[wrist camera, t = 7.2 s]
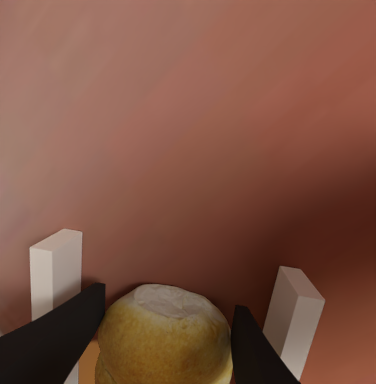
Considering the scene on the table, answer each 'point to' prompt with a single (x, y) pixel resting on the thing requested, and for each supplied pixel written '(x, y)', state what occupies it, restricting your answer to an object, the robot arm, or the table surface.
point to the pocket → (274, 324)
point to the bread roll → (163, 339)
